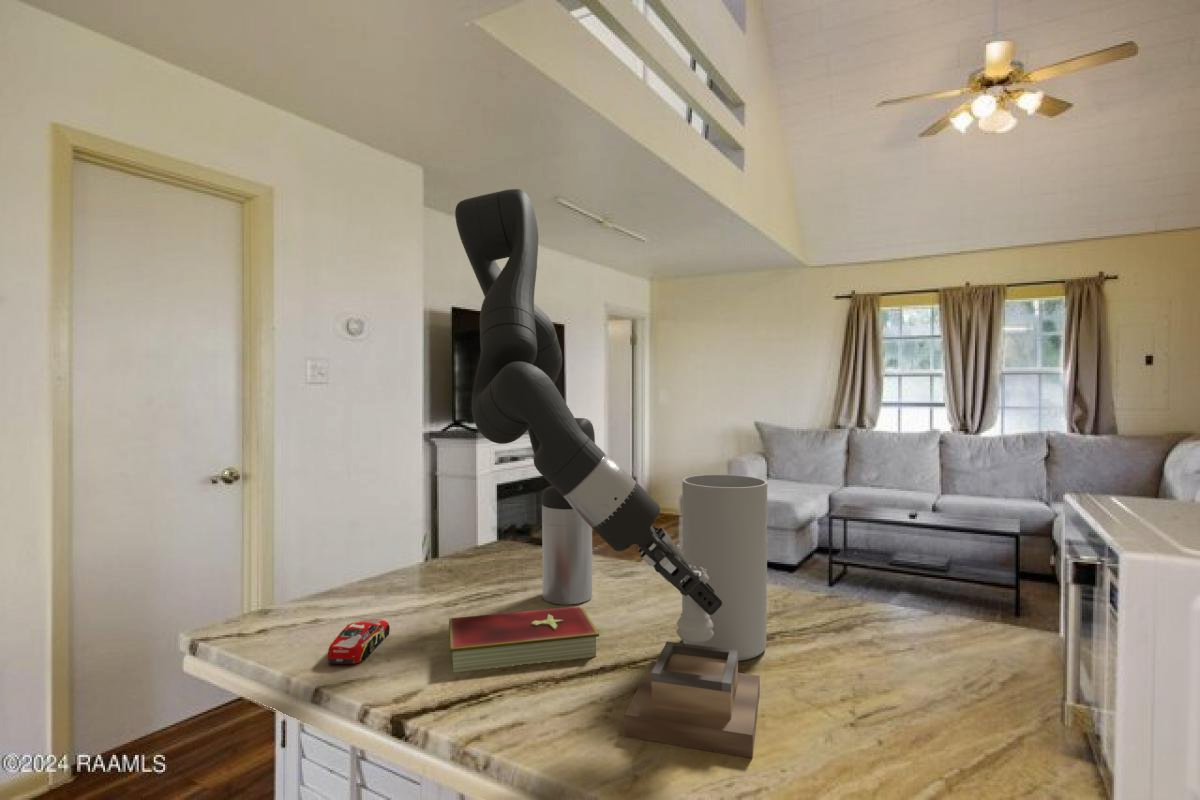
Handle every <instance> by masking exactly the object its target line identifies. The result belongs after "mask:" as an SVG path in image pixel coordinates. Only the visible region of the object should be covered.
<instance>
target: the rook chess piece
mask: <svg viewBox="0 0 1200 800" xmlns="http://www.w3.org/2000/svg"><path fill="white" fill-rule="evenodd" d="M692 570H693V571H694V572H695V573H696V574H698V575H699V576H700V577H701V580H702V581H703V582H704V583H705V584H706V583H707V581H708V580H709V577H708V575H707V574H706V569H703V568H702V567H699V571H697V570H696V567H692ZM689 578H690V576H689V575H686V576H685V577H684V578H683V580H684V582H686V581H687V580H688V579H689ZM676 625H677V627H678V628H677V629H676V634H677V636H678V637H679V638H680V639H683V640H685V641H688V642H693V643H701V642H706V641H709V640H710V639H711V638H712V636H713V635H714V632H713V631H712V630H711V629H712V628H713V623H712V621H711V619H710V616H709V615H708V614H707V613H706V612H705V611H704V610H703V609H702V608H701V607H700V606H699V605H698V604H697V603H696V602H695V601H694V600H693V599H692V598H691V597H690V596H689V595H687V596H685V602H684V609H683V612H682V611H681V614H680V617H679V618H678V620H677V622H676ZM683 640H682V641H683Z"/></svg>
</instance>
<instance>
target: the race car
mask: <svg viewBox="0 0 1200 800" xmlns="http://www.w3.org/2000/svg"><path fill="white" fill-rule="evenodd" d="M390 628H391V627H390V624H389V622H388V621H386V620H383V619H379V618H374V619H373V618H372V619H371V618H370V619H365V620H364V619H363V620H361V621H357V622H356V621H355V622H351V623H349V624H347V625H346V626H345V627H344V628H343V629H342V630H341V631H340V633H339V634H338V635H337V636H336V637H335V639H334V640H332V641H333V642H331V643H330V645H329V648H328V650H327V651H328V652H327V663H328V664H330V665H331V664H332V665H333V664H334V665H335V664H337V665H340V664H341V665H342V664H343V665H345V664H347V665H351V664H358V663H361V662H364V661H366V659H367V658H369V655H370V654H372V652H373V651H374V650H375V649H376V648H378V646H379V645H380V644H381V643H382V642H383V641H384V640H385V639H387V637H388V636H389V634H390Z"/></svg>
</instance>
